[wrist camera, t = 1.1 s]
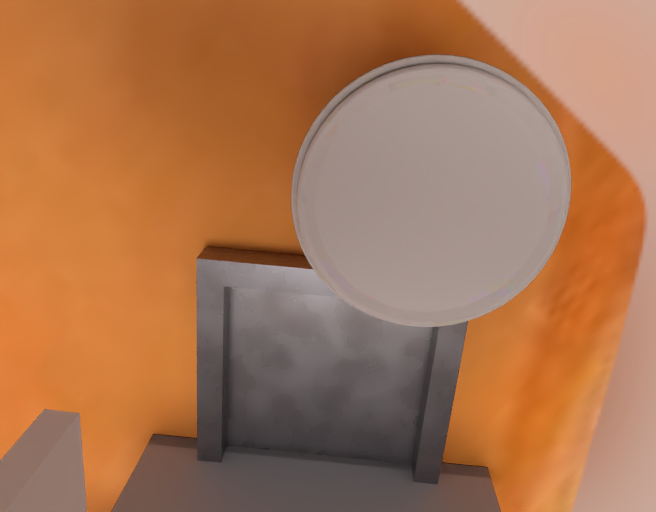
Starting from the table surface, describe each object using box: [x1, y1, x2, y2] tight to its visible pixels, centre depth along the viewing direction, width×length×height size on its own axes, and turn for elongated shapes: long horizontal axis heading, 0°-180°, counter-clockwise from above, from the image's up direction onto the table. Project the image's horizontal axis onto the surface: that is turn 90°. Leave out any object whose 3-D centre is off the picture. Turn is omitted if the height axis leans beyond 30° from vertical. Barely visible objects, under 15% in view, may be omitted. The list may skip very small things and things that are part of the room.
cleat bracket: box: [197, 246, 468, 484], centre depth 33 cm, size 14×15×2 cm
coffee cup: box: [291, 54, 571, 327], centre depth 23 cm, size 9×9×12 cm
